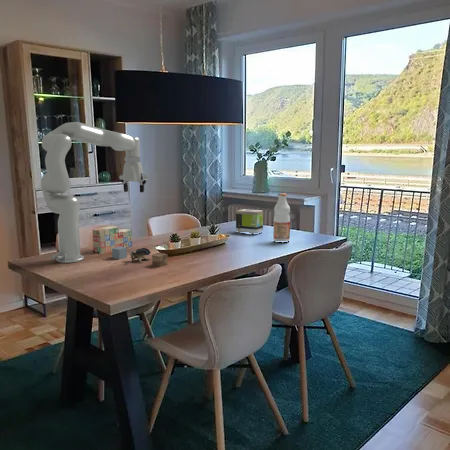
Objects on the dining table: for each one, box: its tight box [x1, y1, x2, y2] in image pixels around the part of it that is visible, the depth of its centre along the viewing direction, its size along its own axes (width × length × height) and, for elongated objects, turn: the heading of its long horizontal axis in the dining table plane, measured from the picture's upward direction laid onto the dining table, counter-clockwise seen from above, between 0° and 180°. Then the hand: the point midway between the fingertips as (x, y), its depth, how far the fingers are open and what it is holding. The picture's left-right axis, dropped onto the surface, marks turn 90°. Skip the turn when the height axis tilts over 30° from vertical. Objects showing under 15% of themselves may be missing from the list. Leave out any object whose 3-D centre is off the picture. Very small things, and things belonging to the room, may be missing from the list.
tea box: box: [235, 208, 264, 233], centre depth 282 cm, size 15×10×15 cm, turn 60°
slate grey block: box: [111, 247, 128, 260], centre depth 219 cm, size 5×5×5 cm
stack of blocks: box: [92, 225, 133, 254], centre depth 238 cm, size 21×6×12 cm, turn 143°
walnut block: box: [151, 252, 169, 268], centre depth 206 cm, size 5×5×5 cm
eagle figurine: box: [129, 247, 151, 263], centre depth 213 cm, size 8×7×9 cm
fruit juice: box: [272, 193, 291, 242], centre depth 254 cm, size 9×9×28 cm
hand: (133, 191), depth 241 cm, fingers open, 9 cm apart
